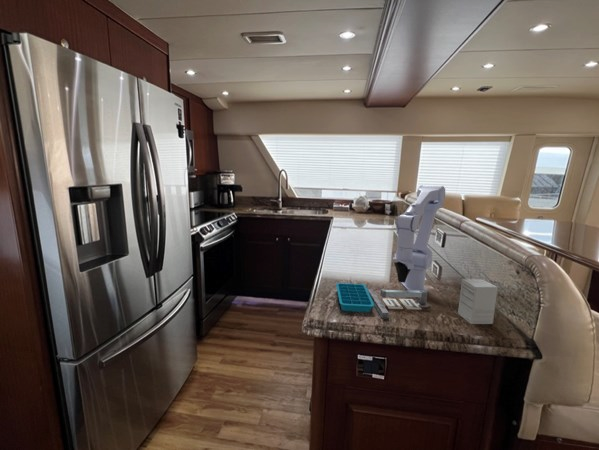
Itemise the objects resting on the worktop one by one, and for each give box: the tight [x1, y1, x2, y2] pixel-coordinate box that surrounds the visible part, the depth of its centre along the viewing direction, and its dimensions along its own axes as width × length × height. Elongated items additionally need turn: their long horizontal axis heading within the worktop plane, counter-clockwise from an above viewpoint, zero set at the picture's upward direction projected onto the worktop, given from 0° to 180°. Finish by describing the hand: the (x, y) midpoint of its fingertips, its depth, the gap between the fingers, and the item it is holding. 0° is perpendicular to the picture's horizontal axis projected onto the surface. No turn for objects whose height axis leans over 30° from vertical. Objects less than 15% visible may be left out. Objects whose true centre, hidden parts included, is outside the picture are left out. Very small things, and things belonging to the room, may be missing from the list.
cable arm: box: [379, 288, 428, 305], centre depth 102 cm, size 16×3×5 cm, turn 91°
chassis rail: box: [367, 288, 390, 319], centre depth 101 cm, size 20×2×2 cm, turn 1°
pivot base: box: [415, 300, 430, 309], centre depth 102 cm, size 5×5×1 cm
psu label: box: [381, 297, 404, 310], centre depth 102 cm, size 8×5×1 cm, turn 1°
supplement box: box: [457, 278, 499, 325], centre depth 91 cm, size 7×7×13 cm
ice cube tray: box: [335, 282, 375, 313], centre depth 104 cm, size 12×20×3 cm, turn 177°
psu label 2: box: [398, 298, 422, 311], centre depth 102 cm, size 8×5×1 cm, turn 1°
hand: (401, 281), depth 106 cm, fingers closed
